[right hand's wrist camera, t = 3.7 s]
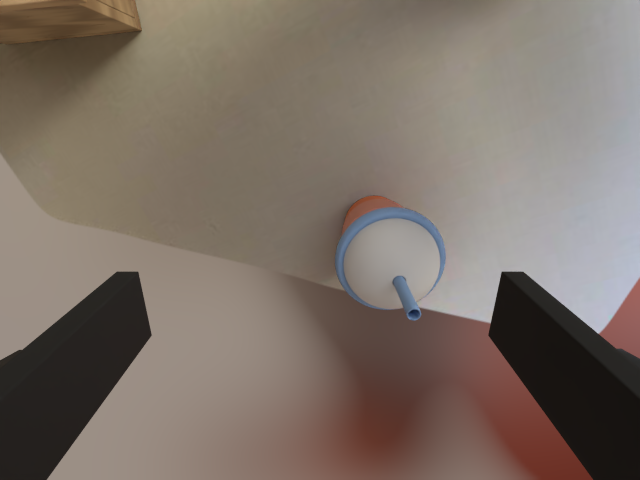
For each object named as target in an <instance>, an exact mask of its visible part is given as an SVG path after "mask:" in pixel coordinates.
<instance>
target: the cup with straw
mask: <svg viewBox="0 0 640 480" xmlns="http://www.w3.org/2000/svg"><path fill="white" fill-rule="evenodd" d="M445 259H446V253H445V246H444V242H443V239H442V237H441V235H440V233H439V231H438V230H437V228H436V227H435V226H434V225H433V223H432V222H431V221H430V220H428V219H427V218H426V217H424V216H423V215H421V214H419V213H417V212H415V211H413V210H410V209H406V208H403V207H402V206H400V205H399V204H397V203H396V202H393V201H391V200H389V199H387V198H384V197H381V196H368V197H365V198H362V199H360V200H358V201H357V202H356V203H354V204H353V205H352V206H351V208H350V209H349V211H348V212H347V215H346V218H345V222H344V225H343V229H342V237H341V239H340V241H339V243H338V246H337V249H336V254H335V267H336V272H337V276H338V279H339V281H340V283H341V285H342V286H343V288H344V289H345V290H346V292H347V293H348V294H349V295H350V296H351V297H352V298H354V299H355V300H356V301H358V302H360V303H361V304H363V305H366V306H368V307H371V308H375V309H382V310H393V309H400V308H404V310H405V313H406V315H407V317H408V318H409V319H410V320H417V319H419V318H420V316H421V311H420V309H419V307H418V305H417V303H416V302H418V301H420V300H421V299H423V298H424V297H425V296H426V295H428V294H429V293H430V292H431V291H432V290H433V288H434V287H435V286H436V284H437V283H438V281H439V280H440V278H441V275H442V273H443V270H444V266H445Z"/></svg>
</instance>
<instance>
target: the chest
mask: <svg viewBox="0 0 640 480" xmlns="http://www.w3.org/2000/svg"><path fill="white" fill-rule="evenodd" d="M135 31H142V29H141V25H140V20H139V16H138V12H137V8H136V3H135V0H87V3H82V4H72V5H62V6H53V7H43V8H33V9H23V10H14V11H4V12H0V43H2V44H15V43H25V42H35V41H45V40H55V39H65V38H75V37H85V36H95V35H105V34H115V33H125V32H135Z"/></svg>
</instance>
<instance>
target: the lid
mask: <svg viewBox="0 0 640 480" xmlns="http://www.w3.org/2000/svg"><path fill="white" fill-rule="evenodd" d="M82 3H87V0H0V12H4V11H14V10H23V9H33V8H43V7H53V6H62V5H72V4H82Z"/></svg>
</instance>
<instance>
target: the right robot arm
mask: <svg viewBox="0 0 640 480" xmlns="http://www.w3.org/2000/svg"><path fill="white" fill-rule="evenodd" d="M150 337H151V330H150V325H149V321H148V316H147V311H146V307H145V302H144V297H143V292H142V288H141V283H140V278H139V273H138V272H116V273H115V274H114V275H112V276H111V277H110V278H109V279H108V280H106V281H105V282H104V283H103V284H102V285H100V286H99V287H98V288H97V289H96V290H94V291H93V292H92V293H91V294H89V295H88V296H87V297H86V298H85V299H83V300H82V301H81V302H80V303H79V304H77V305H76V306H75V307H74V308H73V309H71V310H70V311H69V312H68V313H67V314H65V315H64V316H63V317H62V318H60V319H59V320H58V321H57V322H56V323H55V324H53V325H52V326H51V327H50V328H48V329H47V330H46V331H45V332H44V333H42V334H41V335H40V336H39V337H38V338H36V339H35V340H34V341H33V342H31V343H30V344H29V345H28V346H27V347H25V348H24V349H23V350H18V351H16V352H15V353H13V354H11V355H9V356H7V357H5V358H4V359H2V360H0V480H47V478H48V477H49V476H50V474H51V473H52V472H53V470H54V469H55V467H56V466H57V465H58V463H59V462H60V461H61V459H62V458H63V456H64V455H65V454H66V452H67V451H68V450H69V448H70V447H71V445H72V444H73V443H74V441H75V440H76V439H77V437H78V436H79V434H80V433H81V432H82V430H83V429H84V428H85V426H86V425H87V423H88V422H89V421H90V419H91V418H92V417H93V415H94V414H95V412H96V411H97V410H98V408H99V407H100V406H101V404H102V403H103V401H104V400H105V399H106V397H107V396H108V395H109V393H110V392H111V390H112V389H113V388H114V386H115V385H116V384H117V382H118V381H119V379H120V378H121V377H122V375H123V374H124V373H125V371H126V370H127V368H128V367H129V366H130V364H131V363H132V362H133V360H134V359H135V357H136V356H137V355H138V353H139V352H140V351H141V349H142V348H143V346H144V345H145V344H146V342H147V341H148V340H149V338H150ZM489 337H490V338H491V340H492V341H493V342H494V344H495V345H496V346H497V348H498V349H499V351H500V352H501V353H502V355H503V356H504V357H505V359H506V360H507V362H508V363H509V364H510V366H511V367H512V368H513V370H514V371H515V373H516V374H517V375H518V377H519V378H520V379H521V381H522V382H523V384H524V385H525V386H526V388H527V389H528V390H529V392H530V393H531V395H532V396H533V397H534V399H535V400H536V401H537V403H538V404H539V406H540V407H541V408H542V410H543V411H544V412H545V414H546V415H547V417H548V418H549V419H550V421H551V422H552V423H553V425H554V426H555V428H556V429H557V430H558V432H559V433H560V434H561V436H562V437H563V438H564V440H565V441H566V443H567V444H568V445H569V447H570V448H571V450H572V451H573V452H574V454H575V455H576V456H577V458H578V459H579V461H580V462H581V463H582V465H583V466H584V467H585V469H586V470H587V472H588V473H589V474H590V476H591V477H592V478H593V480H640V359H639V358H637V357H636V356H634V355H632V354H630V353H628V352H626V351H624V350H623V349H616V348H615V347H613V346H612V345H611V344H610V343H609V342H607V341H606V340H605V339H604V338H602V337H601V336H600V335H599V334H598V333H596V332H595V331H594V330H593V329H592V328H590V327H589V326H588V325H587V324H586V323H584V322H583V321H582V320H581V319H580V318H578V317H577V316H576V315H575V314H573V313H572V312H571V311H570V310H569V309H567V308H566V307H565V306H564V305H563V304H561V303H560V302H559V301H558V300H557V299H555V298H554V297H553V296H552V295H551V294H549V293H548V292H547V291H546V290H544V289H543V288H542V287H541V286H540V285H538V284H537V283H536V282H535V281H534V280H532V279H531V278H530V277H529V276H528V275H526V274H525V273H524V272H502V273H501V278H500V283H499V287H498V292H497V297H496V302H495V306H494V311H493V316H492V321H491V325H490V330H489Z"/></svg>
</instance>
